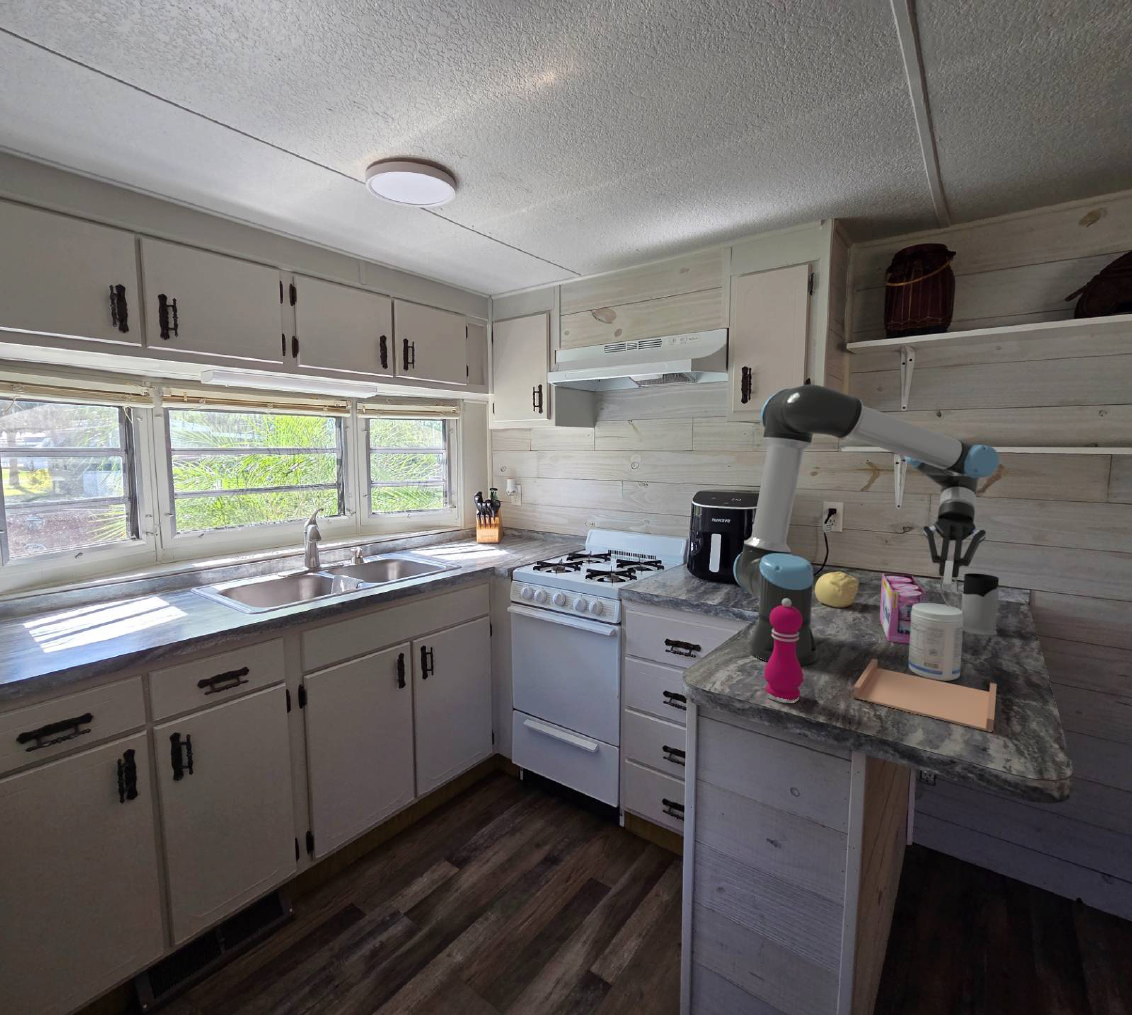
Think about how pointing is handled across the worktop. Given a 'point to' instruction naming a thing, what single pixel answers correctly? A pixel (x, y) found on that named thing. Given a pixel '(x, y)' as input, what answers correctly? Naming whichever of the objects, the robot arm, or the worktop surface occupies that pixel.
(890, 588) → the gum box
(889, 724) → the worktop surface
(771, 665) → the pepper mill
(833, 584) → the sculpture
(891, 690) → the tan shallow tray
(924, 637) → the supplement tub
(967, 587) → the glass holder
